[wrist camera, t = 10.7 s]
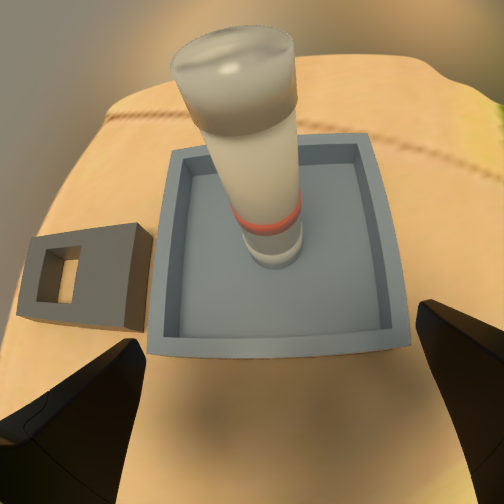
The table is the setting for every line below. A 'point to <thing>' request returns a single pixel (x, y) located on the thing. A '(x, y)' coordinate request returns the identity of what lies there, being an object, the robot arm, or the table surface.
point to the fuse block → (89, 278)
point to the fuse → (249, 130)
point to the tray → (280, 280)
